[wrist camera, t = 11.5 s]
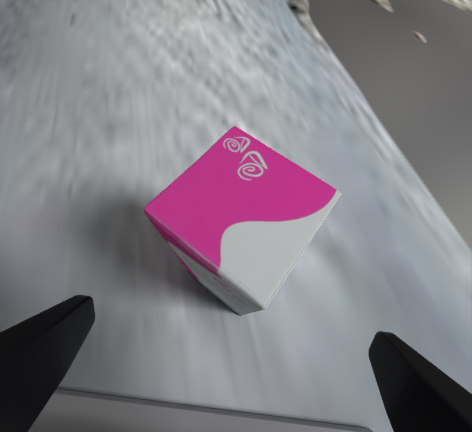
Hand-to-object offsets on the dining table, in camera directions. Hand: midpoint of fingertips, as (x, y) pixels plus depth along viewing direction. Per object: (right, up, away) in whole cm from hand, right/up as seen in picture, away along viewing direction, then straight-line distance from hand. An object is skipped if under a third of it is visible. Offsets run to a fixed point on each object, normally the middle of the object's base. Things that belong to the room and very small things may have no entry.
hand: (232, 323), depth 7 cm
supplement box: (0, -1, +12) cm, 12 cm away
